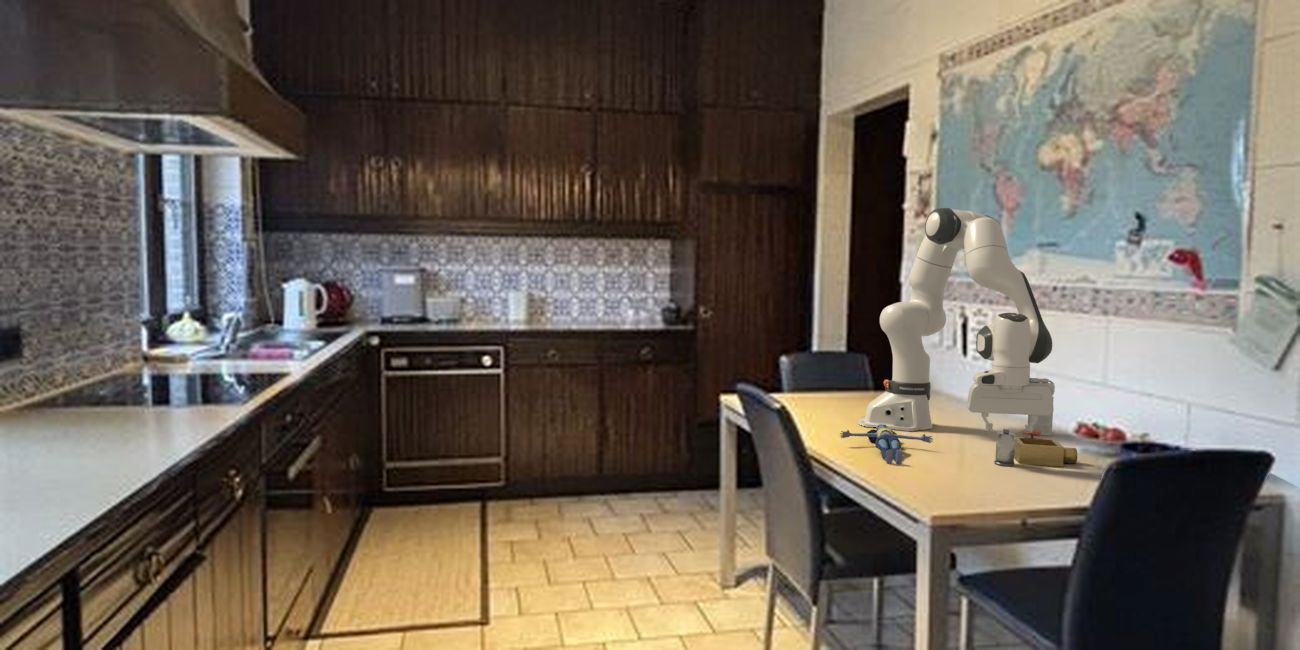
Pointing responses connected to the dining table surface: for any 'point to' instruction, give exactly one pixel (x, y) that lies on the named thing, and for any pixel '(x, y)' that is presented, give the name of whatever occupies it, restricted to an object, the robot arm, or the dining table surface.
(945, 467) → the dining table surface
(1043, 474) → the dining table surface
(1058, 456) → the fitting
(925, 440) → the figurine
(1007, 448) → the cylinder
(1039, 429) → the skincare box
